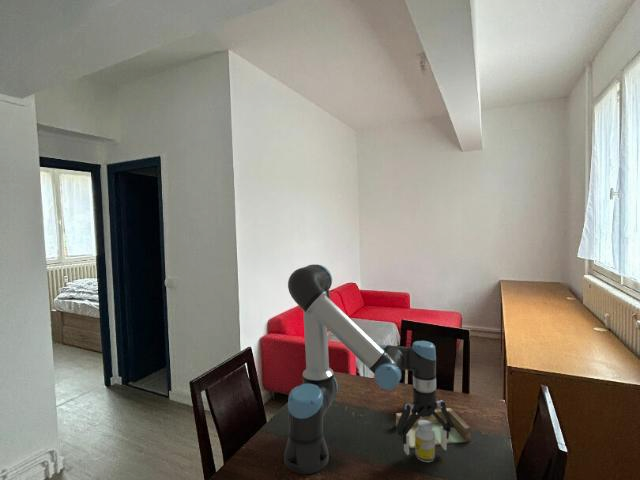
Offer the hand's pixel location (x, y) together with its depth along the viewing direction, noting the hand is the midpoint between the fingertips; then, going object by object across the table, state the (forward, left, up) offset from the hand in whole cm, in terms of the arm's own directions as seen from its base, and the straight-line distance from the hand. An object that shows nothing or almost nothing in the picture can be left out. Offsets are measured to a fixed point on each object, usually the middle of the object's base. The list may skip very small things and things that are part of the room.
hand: (425, 450), depth 116 cm
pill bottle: (0, 0, -3) cm, 3 cm away
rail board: (+8, +12, -2) cm, 15 cm away
